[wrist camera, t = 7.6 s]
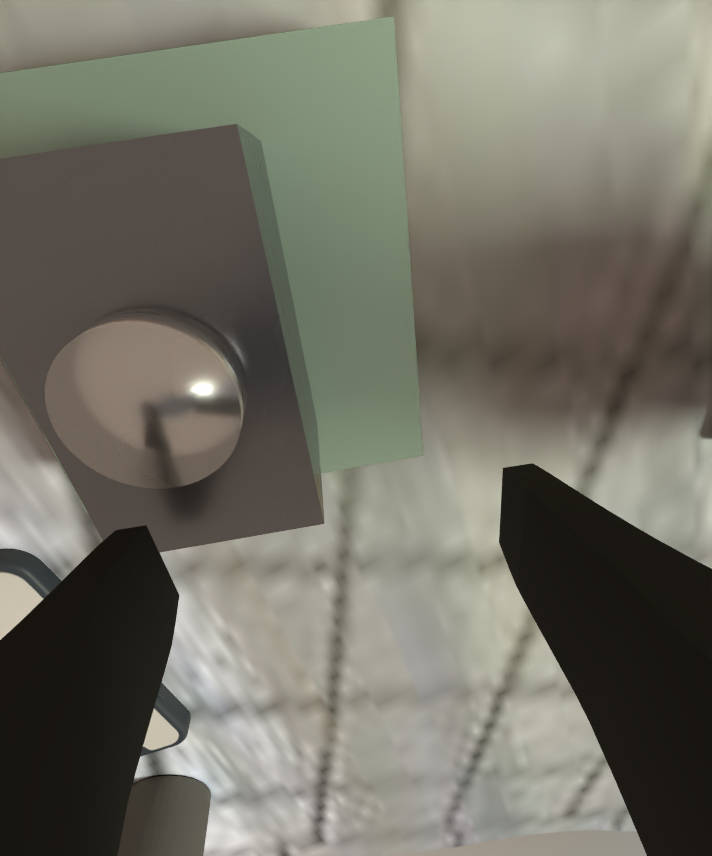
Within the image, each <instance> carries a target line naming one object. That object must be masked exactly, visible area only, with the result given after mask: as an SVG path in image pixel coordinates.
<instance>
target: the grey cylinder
mask: <svg viewBox="0 0 712 856" xmlns="http://www.w3.org/2000/svg"><path fill="white" fill-rule="evenodd" d="M210 798H211V793H210V790H209V788H208V787H207V786H206V785H205V784H204V783H202V782H200V781H198V780H196V779H192V778H188V777H183V776H158V777H153V778H148V779H145V780H142V781H140V782H137V783H135V784H134V785H132V788H131V792H130V796H129V800H128V805H127V810H126V815H125V820H124V825H123V830H122V835H121V840H120V845H119V851H118V856H203V852H204V845H205V838H206V830H207V823H208V815H209V807H210Z"/></svg>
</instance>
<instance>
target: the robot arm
mask: <svg viewBox="0 0 712 856" xmlns="http://www.w3.org/2000/svg"><path fill="white" fill-rule="evenodd" d="M499 543H500V546H501V548H502V551H503V554H504V556H505V559H506V561H507V564H508V567H509V569H510V571H511V574H512V576H513V579H514V581H515V584H516V586H517V588H518V590H519V592H520V594H521V596H522V598H523V599H524V601H525V603H526V605H527V607H528V609H529V611H530V612H531V614H532V616H533V618H534V620H535V622H536V623H537V625H538V627H539V629H540V631H541V632H542V634H543V636H544V638H545V640H546V642H547V643H548V645H549V647H550V649H551V651H552V652H553V654H554V656H555V658H556V660H557V661H558V663H559V665H560V667H561V669H562V671H563V672H564V674H565V676H566V678H567V680H568V681H569V683H570V685H571V687H572V689H573V690H574V692H575V694H576V696H577V698H578V700H579V702H580V704H581V706H582V708H583V710H584V712H585V714H586V716H587V718H588V720H589V722H590V724H591V726H592V729H593V731H594V733H595V735H596V738H597V740H598V742H599V744H600V747H601V749H602V751H603V753H604V756H605V758H606V760H607V762H608V765H609V767H610V769H611V771H612V774H613V776H614V778H615V781H616V783H617V785H618V788H619V790H620V792H621V795H622V797H623V799H624V802H625V804H626V807H627V809H628V811H629V814H630V816H631V818H632V821H633V823H634V825H635V828H636V830H637V833H638V835H639V837H640V840H641V842H642V844H643V847H644V849H645V852H646V854H647V856H712V569H711V568H709V567H707V566H705V565H703V564H701V563H699V562H697V561H695V560H694V559H692V558H690V557H688V556H686V555H684V554H683V553H681V552H679V551H677V550H675V549H673V548H672V547H670V546H668V545H666V544H664V543H662V542H661V541H659V540H657V539H655V538H654V537H652V536H650V535H648V534H647V533H645V532H643V531H641V530H640V529H638V528H636V527H635V526H633V525H631V524H630V523H628V522H626V521H624V520H623V519H621V518H620V517H618V516H616V515H615V514H613V513H611V512H610V511H608V510H606V509H605V508H603V507H602V506H600V505H598V504H597V503H595V502H594V501H592V500H590V499H589V498H587V497H586V496H584V495H583V494H581V493H579V492H578V491H576V490H575V489H573V488H571V487H570V486H568V485H567V484H565V483H564V482H562V481H561V480H559V479H557V478H556V477H554V476H553V475H551V474H549V473H548V472H546V471H545V470H543V469H541V468H540V467H538V466H536V465H535V464H533V463H532V464H526V465H519V466H513V467H507V468H503V479H502V498H501V518H500V537H499ZM178 600H179V594H178V592H177V590H176V587H175V585H174V583H173V581H172V579H171V577H170V575H169V572H168V570H167V568H166V566H165V564H164V562H163V560H162V557H161V555H160V553H159V551H158V549H157V547H156V545H155V542H154V540H153V538H152V536H151V534H150V532H149V530H148V528H147V525H144V526H138V527H132V528H126V529H119V530H115V531H114V532H113V533H112V534H111V535H109V536H108V537H107V538H106V539H105V540H104V541H103V542H102V543H101V544H100V545H99V546H97V547H96V548H95V549H94V550H93V551H92V552H91V553H90V554H89V555H88V556H87V557H86V558H85V559H84V560H83V561H82V562H81V563H80V564H79V565H78V566H77V567H76V568H75V569H74V570H73V571H72V572H71V573H70V574H69V575H68V576H67V577H66V578H65V579H64V580H63V581H62V582H61V583H60V584H59V585H58V586H56V587H55V588H54V589H53V590H52V591H51V592H50V593H49V594H48V595H47V596H46V597H45V598H44V599H43V600H42V601H41V602H40V603H39V604H38V605H37V606H36V607H35V608H34V609H33V610H32V611H31V612H30V613H29V614H28V615H27V616H26V617H25V618H24V619H22V620H21V621H20V622H19V623H18V624H17V625H16V626H15V627H14V628H13V629H12V630H11V631H10V632H8V633H7V634H6V635H5V636H4V637H3V638H2V639H1V640H0V856H118V851H119V845H120V840H121V835H122V830H123V825H124V820H125V815H126V810H127V805H128V800H129V796H130V792H131V788H132V784H133V780H134V776H135V772H136V769H137V765H138V762H139V758H140V755H141V751H142V748H143V744H144V741H145V738H146V734H147V731H148V727H149V724H150V720H151V717H152V713H153V710H154V706H155V703H156V699H157V696H158V693H159V689H160V686H161V682H162V678H163V675H164V671H165V668H166V664H167V661H168V657H169V653H170V649H171V646H172V640H173V634H174V628H175V622H176V615H177V607H178Z"/></svg>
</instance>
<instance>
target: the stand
mask: <svg viewBox="0 0 712 856" xmlns="http://www.w3.org/2000/svg"><path fill="white" fill-rule="evenodd" d="M231 124H238V125H240V126H241V127H242V128H244V129H245V130H247V131H248V132H249V133H251V134H252V135H253V136H255V137H256V138H258V139H259V140H260V141H261V143H262V148H263V153H264V158H265V163H266V168H267V173H268V178H269V183H270V188H271V193H272V198H273V203H274V208H275V213H276V218H277V223H278V228H279V233H280V238H281V243H282V248H283V253H284V258H285V263H286V268H287V273H288V278H289V283H290V288H291V293H292V298H293V303H294V308H295V313H296V318H297V323H298V328H299V333H300V338H301V343H302V348H303V353H304V358H305V363H306V368H307V373H308V378H309V383H310V388H311V393H312V398H313V403H314V408H315V413H316V419H317V425H318V440H319V454H320V468H321V473H325V472H331V471H337V470H343V469H349V468H355V467H360V466H366V465H372V464H378V463H384V462H390V461H395V460H401V459H407V458H413V457H419V456H423V442H422V427H421V412H420V397H419V382H418V367H417V353H416V338H415V323H414V308H413V293H412V278H411V264H410V249H409V234H408V219H407V204H406V189H405V175H404V160H403V145H402V130H401V115H400V100H399V86H398V71H397V56H396V41H395V26H394V17H388V18H381V19H374V20H367V21H360V22H353V23H346V24H339V25H332V26H325V27H318V28H311V29H304V30H297V31H290V32H283V33H276V34H269V35H262V36H255V37H248V38H241V39H234V40H227V41H220V42H213V43H206V44H199V45H192V46H185V47H178V48H171V49H165V50H158V51H151V52H144V53H137V54H130V55H123V56H116V57H109V58H102V59H95V60H88V61H81V62H74V63H67V64H60V65H53V66H46V67H39V68H32V69H25V70H18V71H11V72H4V73H0V159H1V158H8V157H14V156H21V155H28V154H35V153H41V152H48V151H55V150H62V149H69V148H75V147H82V146H89V145H96V144H102V143H109V142H116V141H123V140H129V139H136V138H143V137H150V136H157V135H163V134H170V133H177V132H184V131H190V130H197V129H204V128H211V127H218V126H224V125H231ZM0 359H1V361H2V362H3V360H2V358H1V356H0ZM3 364H4V362H3ZM4 366H5V368H6V370H7V371H8V369H7V367H6V365H5V364H4ZM8 373H9V375H10V377H11V378H12V376H11V374H10V372H9V371H8ZM12 380H13V378H12ZM13 382H14V384H15V386H16V387H17V385H16V383H15V381H14V380H13ZM17 389H18V387H17ZM18 391H19V393H20V394H21V392H20V390H19V389H18ZM21 396H22V394H21ZM22 398H23V396H22ZM23 400H24V402H25V403H26V401H25V399H24V398H23ZM26 405H27V403H26ZM27 407H28V405H27ZM28 409H29V411H30V412H31V410H30V408H29V407H28ZM31 414H32V412H31ZM32 416H33V418H34V419H35V417H34V415H33V414H32ZM35 421H36V419H35ZM36 423H37V421H36ZM37 425H38V427H39V428H40V426H39V424H38V423H37ZM40 430H41V428H40ZM41 432H42V430H41ZM42 434H43V436H44V437H45V435H44V433H43V432H42ZM45 439H46V437H45ZM46 441H47V439H46ZM47 443H48V444H49V442H48V441H47ZM49 446H50V444H49ZM50 448H51V446H50ZM51 450H52V448H51ZM52 452H53V453H54V451H53V450H52ZM54 455H55V453H54ZM55 457H56V455H55ZM56 459H57V460H58V458H57V457H56ZM58 462H59V460H58ZM59 464H60V462H59ZM60 466H61V464H60ZM61 468H62V469H63V467H62V466H61ZM63 471H64V469H63ZM64 473H65V471H64ZM65 475H66V473H65ZM66 477H67V478H68V476H67V475H66ZM68 480H69V478H68ZM69 482H70V480H69ZM70 484H71V482H70ZM71 485H72V484H71ZM72 487H73V485H72ZM73 489H74V487H73ZM74 491H75V489H74ZM75 493H76V491H75ZM76 494H77V493H76ZM77 496H78V494H77ZM78 498H79V496H78ZM79 500H80V498H79ZM80 502H81V503H82V501H81V500H80ZM82 505H83V503H82ZM83 507H84V505H83ZM84 509H85V507H84ZM85 510H86V509H85ZM86 512H87V510H86ZM87 513H88V512H87Z"/></svg>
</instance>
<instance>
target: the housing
mask: <svg viewBox="0 0 712 856" xmlns="http://www.w3.org/2000/svg"><path fill="white" fill-rule="evenodd" d="M0 356H1V358H2V360H3V362H4V364H5V365H6V367H7V369H8V371H9V372H10V374H11V376H12V378H13V380H14V381H15V383H16V385H17V387H18V389H19V390H20V392H21V394H22V396H23V398H24V399H25V401H26V403H27V405H28V407H29V408H30V410H31V412H32V414H33V415H34V417H35V419H36V421H37V423H38V424H39V426H40V428H41V430H42V432H43V433H44V435H45V437H46V439H47V441H48V442H49V444H50V446H51V448H52V450H53V451H54V453H55V455H56V457H57V458H58V460H59V462H60V464H61V466H62V467H63V469H64V471H65V473H66V475H67V476H68V478H69V480H70V482H71V484H72V485H73V487H74V489H75V491H76V493H77V494H78V496H79V498H80V500H81V501H82V503H83V505H84V507H85V509H86V510H87V512H88V514H89V516H90V518H91V519H92V521H93V523H94V525H95V527H96V528H97V530H98V532H99V534H100V536H101V537H102V539H103V541H104V540H105V539H106V538H107V537H108V536H109V535H111V534H112V533H113V532H114V531H115V530H119V529H126V528H132V527H138V526H144V525H147V528H148V530H149V532H150V534H151V536H152V538H153V540H154V542H155V545H156V547H157V549H158V551H159V552H164V551H170V550H176V549H181V548H187V547H193V546H199V545H204V544H210V543H216V542H222V541H227V540H233V539H239V538H245V537H250V536H256V535H262V534H268V533H274V532H279V531H285V530H291V529H297V528H302V527H308V526H314V525H320V524H324V510H323V496H322V482H321V468H320V454H319V440H318V425H317V419H316V413H315V408H314V403H313V398H312V393H311V388H310V383H309V378H308V373H307V368H306V363H305V358H304V353H303V348H302V343H301V338H300V333H299V328H298V323H297V318H296V313H295V308H294V303H293V298H292V293H291V288H290V283H289V278H288V273H287V268H286V263H285V258H284V253H283V248H282V243H281V238H280V233H279V228H278V223H277V218H276V213H275V208H274V203H273V198H272V193H271V188H270V183H269V178H268V173H267V168H266V163H265V158H264V153H263V148H262V143H261V141H260V140H259V139H258V138H256V137H255V136H253V135H252V134H251V133H249V132H248V131H247V130H245V129H244V128H242V127H241V126H240V125H238V124H231V125H224V126H218V127H211V128H204V129H197V130H190V131H184V132H177V133H170V134H163V135H157V136H150V137H143V138H136V139H129V140H123V141H116V142H109V143H102V144H96V145H89V146H82V147H75V148H69V149H62V150H55V151H48V152H41V153H35V154H28V155H21V156H14V157H8V158H1V159H0Z"/></svg>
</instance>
